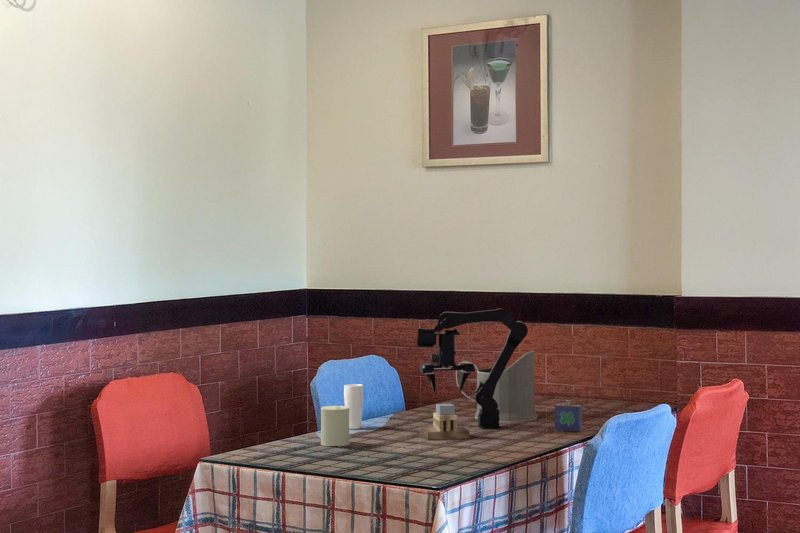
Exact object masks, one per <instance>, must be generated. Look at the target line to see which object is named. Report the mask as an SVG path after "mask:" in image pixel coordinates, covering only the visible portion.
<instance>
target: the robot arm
mask: <svg viewBox="0 0 800 533" xmlns="http://www.w3.org/2000/svg"><path fill="white" fill-rule="evenodd" d="M489 321H490V322H491V321H493V322H494V321H499V322H500V323H501V324H503V325H504V326H505V327H507V328H508V330H509V332H508V334H507V337H506V339H505V344H504V346H503V348H502V349H501V351H500V353H499V355H498V357H497V358H496V360H495V362H494V364H493V366H492V367H491V368H492V370H491V372H490V374H489V376H488V378H487V379H486V380H485V381H484V382H482V381H480V382H479V385H478V387H477V386H476V388H475V389H474V397H475V399H474V400H476V404H477V403H478V404H479V405H480V406H481V407H482V409H479V414H478V419H477V426H478V427H479V428H482V429H501V428H502V426H501V425H500V422H499V409H497V408H498V404H497V401H496V400H494V399H493V395H494V392H495V388H496V384H497V382H498V380H499V378H500V376H501V375H502V373H503V371H504V369H505V368H507V365H508V363H509V361H510V359H512V358H511V357H512V355H513V354H514V351H516V348H517V347H518V346H519V345H520V344H521V343H522V341H523V340H524V339H525V337H526V336H527V335H528V331H529V329H528V326H527V325H526V323H525V322H523V321H520V320H518V321H517V320H516V319H514V318H513V317H512V316H511V315H509V314H508V313H507V312H506V311H505V310H504V309H503V308H496V309H489V310H479V311H478V310H477V311H471V312H457V311H456V312H455V311H443V312H442V313H440V315H439V317H438V322H437V324H436V325H434V327H433V328H422V327H421V328H418V329H417V338H416V340H417V345H416V346H417V349H427V348H428V349H434V346H437V345H438V350H437V351H438V352H437V354H436V353H430V354H429V363H420V364H419V367H418V370H419V371H418V372H420V373H421V374H422V375H424V376H426V377H427V379H428V381H429V383H430V387H431V390H432V394H436V389H437V388H436V375H435V374H436V373H434V372H437V371H456V370H458V382H459V387H458V393H462V392H461V390H463V388H464V385H465V382H466V381H467V379H468V376H469V375H471V374H472V373H474V372H475V371H476V368H475V366H474V364H475V363H473V362H471V363H460V362H459V363H460V365H458V364H457V363H456V355H457V353H456V352H457V351H456V336H461V332H460V331H459V330H458V329H457V327H458V326H462V325H465V324H472V323H481V322H482V323H483V322H489ZM452 328H453V329H452ZM443 330H444V332H441V331H443ZM437 336H438V337H437ZM437 338H438V339H437ZM437 340H438V341H437ZM472 363H473V364H472Z"/></svg>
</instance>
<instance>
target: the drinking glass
mask: <svg viewBox="0 0 800 533" xmlns="http://www.w3.org/2000/svg"><path fill="white" fill-rule="evenodd" d="M343 402H344V406H347V407H349V430H359V429H362V420H363V408H364V407H363V406H364V385H363V384H361V383H359V384H358V383H348V384H344V385H343Z"/></svg>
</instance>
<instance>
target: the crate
mask: <svg viewBox="0 0 800 533" xmlns="http://www.w3.org/2000/svg"><path fill="white" fill-rule="evenodd" d="M455 406H456V405H455V404H452V403H436V404H435V413H437V414H438V415H455V414H456V412H455V411H456V410H455V409H456V407H455Z"/></svg>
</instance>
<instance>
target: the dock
mask: <svg viewBox="0 0 800 533" xmlns="http://www.w3.org/2000/svg"><path fill="white" fill-rule="evenodd" d="M470 433H471V432H470V429H468V428H466V427H464V426H462V425H461V426H460V425H459V426H458V425H457V431H453V430H451V429H450V431H446V430H444V429H443V431H438V430H436V429H435V428H433V427H421V428H420V436H421V437H423V438H424V439H425V440H427V441H434V440H435V441H436V440H456V439H457V440H458V439H459V440H460V439H462V440H463V439H470V438H471V437H470V435H471V434H470Z"/></svg>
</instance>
